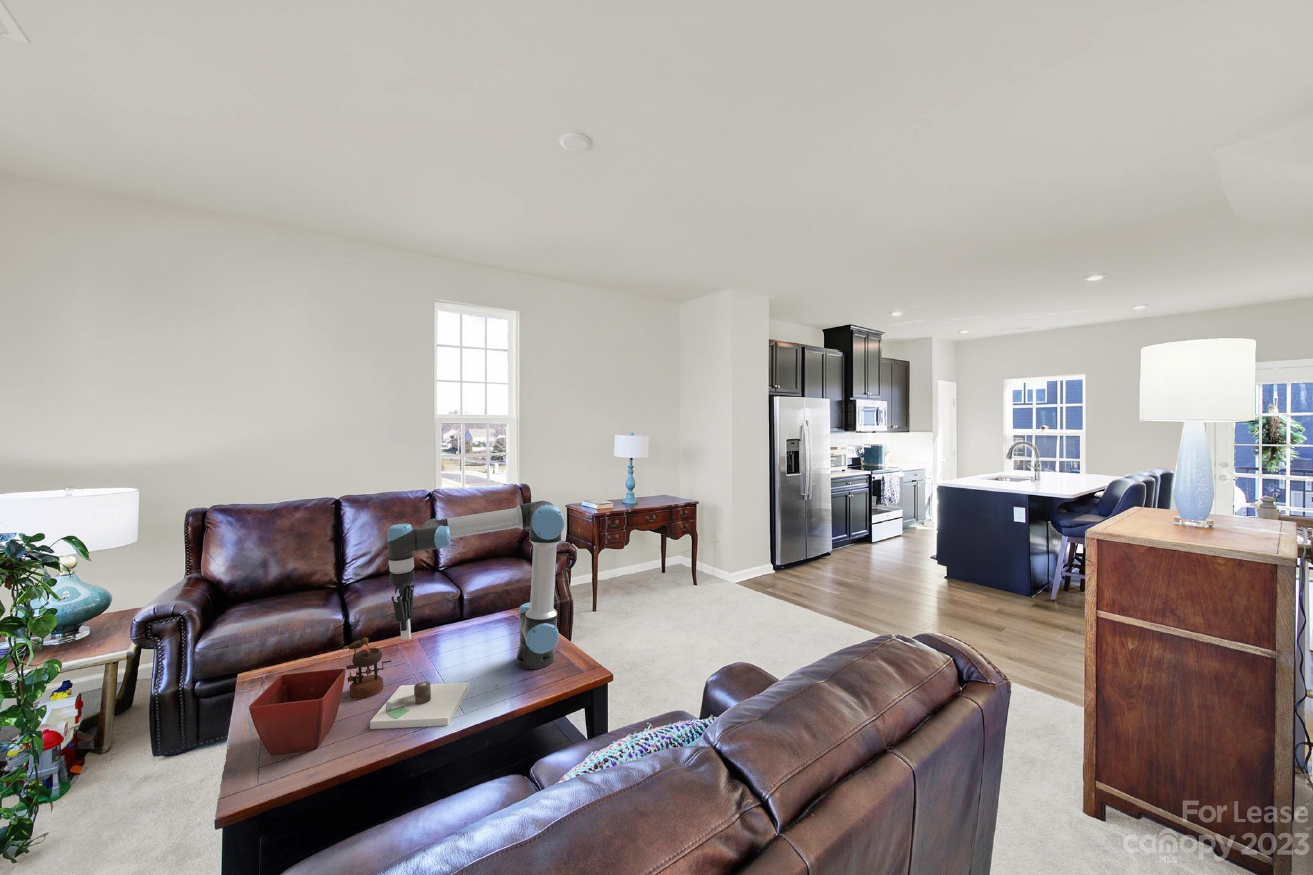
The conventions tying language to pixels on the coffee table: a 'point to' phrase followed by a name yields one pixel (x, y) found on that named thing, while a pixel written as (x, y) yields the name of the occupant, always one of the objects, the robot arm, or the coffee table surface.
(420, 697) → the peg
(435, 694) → the board
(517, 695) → the coffee table surface
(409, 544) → the robot arm
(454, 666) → the coffee table surface
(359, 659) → the music box
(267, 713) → the plant pot
